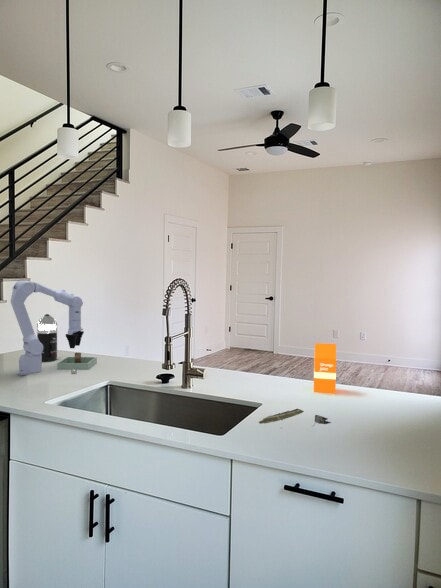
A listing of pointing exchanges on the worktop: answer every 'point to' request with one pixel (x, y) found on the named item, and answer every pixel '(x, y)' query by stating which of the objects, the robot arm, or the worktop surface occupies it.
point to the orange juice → (325, 368)
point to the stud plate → (73, 371)
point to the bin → (70, 363)
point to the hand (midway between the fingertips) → (74, 346)
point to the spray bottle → (48, 337)
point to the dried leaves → (289, 414)
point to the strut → (78, 358)
